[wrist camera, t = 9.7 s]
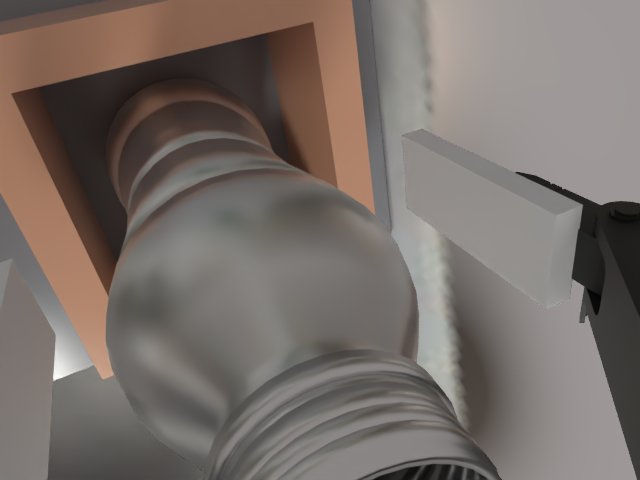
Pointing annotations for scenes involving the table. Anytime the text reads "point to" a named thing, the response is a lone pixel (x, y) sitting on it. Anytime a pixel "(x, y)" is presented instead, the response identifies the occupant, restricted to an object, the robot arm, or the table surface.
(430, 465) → the silver bottle
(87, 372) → the table surface
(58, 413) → the table surface
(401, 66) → the table surface
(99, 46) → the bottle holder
